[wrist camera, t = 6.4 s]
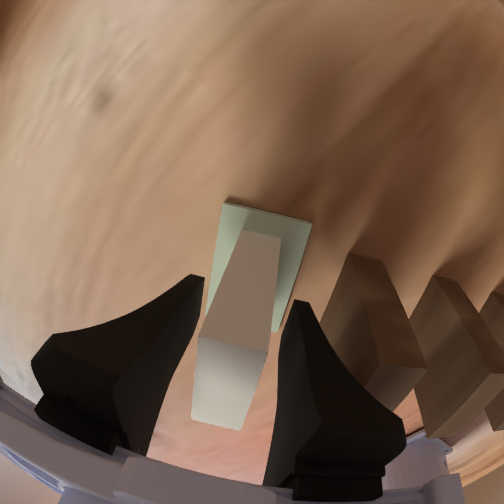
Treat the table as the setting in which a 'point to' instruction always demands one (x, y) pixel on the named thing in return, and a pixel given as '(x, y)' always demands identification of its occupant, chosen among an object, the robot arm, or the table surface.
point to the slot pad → (268, 224)
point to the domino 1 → (236, 333)
